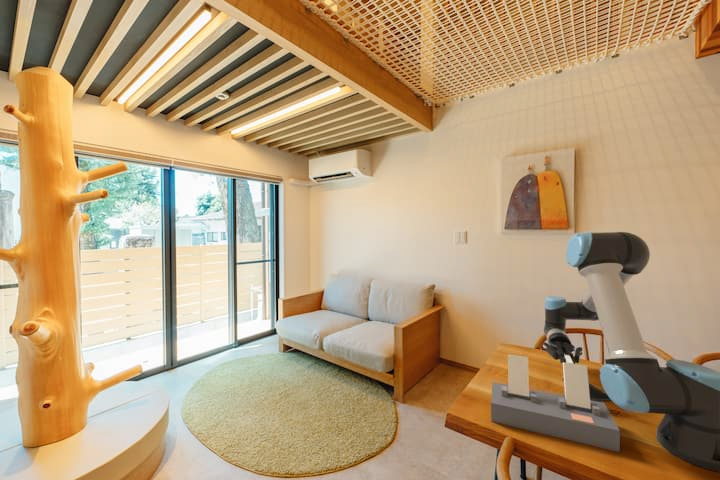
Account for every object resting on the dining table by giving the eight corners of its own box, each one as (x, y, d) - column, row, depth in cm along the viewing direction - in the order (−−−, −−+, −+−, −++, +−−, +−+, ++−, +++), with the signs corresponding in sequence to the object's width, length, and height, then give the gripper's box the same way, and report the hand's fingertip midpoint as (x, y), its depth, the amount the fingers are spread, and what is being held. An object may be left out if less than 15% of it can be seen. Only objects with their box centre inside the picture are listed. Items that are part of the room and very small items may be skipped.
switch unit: (492, 398, 107) (492, 376, 107) (603, 421, 93) (604, 396, 93) (491, 421, 95) (491, 396, 94) (619, 452, 81) (620, 423, 80)
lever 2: (565, 403, 93) (562, 362, 97) (589, 408, 90) (585, 365, 94) (566, 404, 91) (563, 362, 95) (590, 408, 88) (586, 365, 92)
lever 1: (508, 392, 100) (507, 354, 104) (528, 396, 97) (527, 357, 101) (508, 392, 98) (508, 354, 102) (529, 396, 95) (528, 357, 99)
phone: (592, 399, 104) (561, 378, 119) (592, 402, 104) (561, 380, 119) (614, 398, 104) (579, 376, 119) (614, 401, 104) (579, 379, 119)
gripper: (578, 352, 118) (594, 382, 97) (540, 347, 124) (547, 374, 103) (578, 334, 118) (595, 359, 96) (540, 329, 123) (548, 352, 102)
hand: (570, 367), depth 100 cm, fingers closed
